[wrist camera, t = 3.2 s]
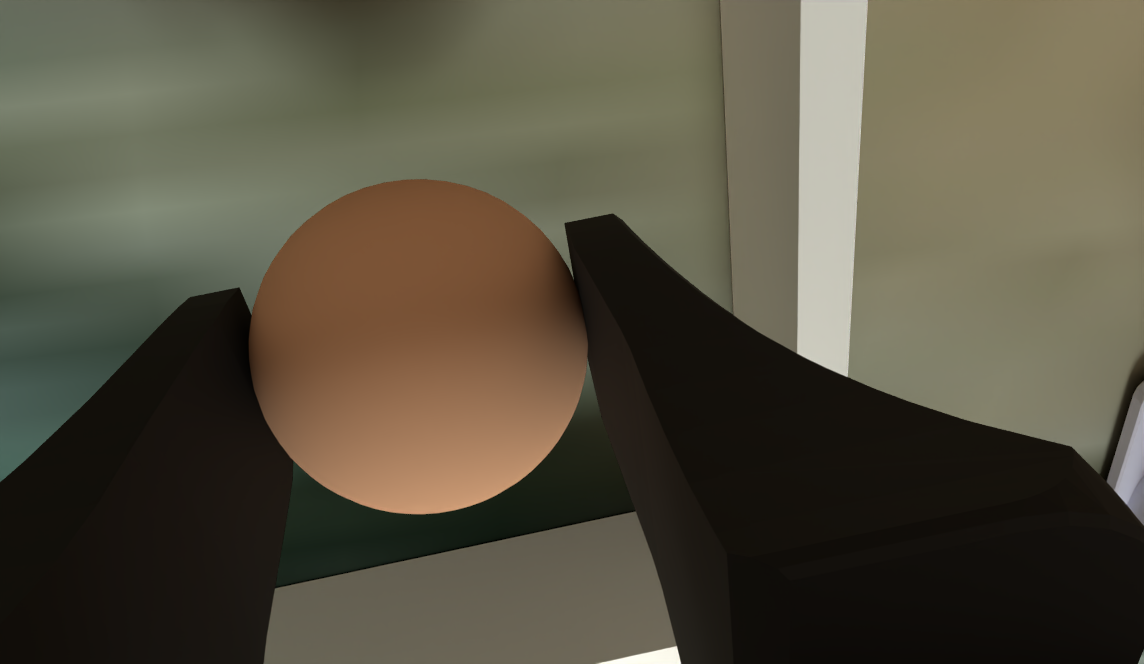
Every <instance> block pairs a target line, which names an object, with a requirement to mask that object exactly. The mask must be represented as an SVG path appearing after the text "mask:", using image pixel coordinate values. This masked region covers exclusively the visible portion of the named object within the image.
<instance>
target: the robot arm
mask: <svg viewBox="0 0 1144 664" xmlns="http://www.w3.org/2000/svg"><path fill="white" fill-rule="evenodd" d="M565 229H566V235H567V241H568V247H569V253H570V259H571V265H572V271H573V277H574V282H575V284H576V287H577V289H578V292H579V297H580V301H581V305H582V309H583V315H584V320H585V325H586V331H587V339H588V353H587V357H588V362H589V366H590V370H591V375H592V379H593V383H594V388H595V392H596V396H597V400H598V404H599V409H600V413H601V417H602V420H603V423H604V425H605V428H606V431H607V434H608V437H609V439H610V442H611V445H612V448H613V450H614V453H615V456H616V459H617V461H618V464H619V467H620V470H621V472H622V475H623V478H624V481H625V483H626V486H627V489H628V492H629V494H630V497H631V500H632V503H633V505H634V508H635V511H636V513H637V516H638V519H639V522H640V524H641V527H642V530H643V533H644V535H645V538H646V541H647V544H648V546H649V549H650V552H651V555H652V558H653V561H654V564H655V567H656V570H657V574H658V577H659V580H660V583H661V586H662V590H663V594H664V598H665V602H666V606H667V610H668V614H669V618H670V622H671V626H672V630H673V634H674V638H675V642H676V646H677V649H678V653H679V657H680V661H681V664H1138V662H1139V660H1140V657H1141V655H1142V652H1143V650H1144V381H1143V382H1142V383H1141V384H1140V385H1139V386H1138V387H1137V388H1136V390H1135V392H1134V394H1133V397H1132V400H1131V404H1130V407H1129V410H1128V413H1127V417H1126V420H1125V423H1124V426H1123V430H1122V433H1121V436H1120V440H1119V443H1118V446H1117V449H1116V453H1115V456H1114V459H1113V462H1112V466H1111V469H1110V472H1109V475H1108V479H1107V482H1106V481H1105V480H1104V479H1103V478H1102V477H1101V476H1100V475H1099V474H1098V473H1097V472H1096V471H1095V470H1094V469H1093V468H1092V467H1091V466H1090V465H1089V464H1088V463H1087V462H1086V461H1085V460H1084V459H1083V458H1082V457H1081V456H1080V455H1079V454H1078V453H1077V452H1076V451H1075V450H1074V449H1073V448H1072V447H1070V446H1066V445H1062V444H1058V443H1054V442H1050V441H1046V440H1042V439H1038V438H1034V437H1030V436H1026V435H1022V434H1018V433H1014V432H1010V431H1006V430H1002V429H998V428H994V427H990V426H986V425H982V424H978V423H974V422H971V421H967V420H964V419H960V418H957V417H954V416H951V415H948V414H945V413H942V412H939V411H936V410H933V409H930V408H927V407H924V406H921V405H918V404H914V403H911V402H908V401H906V400H903V399H900V398H898V397H895V396H892V395H890V394H887V393H884V392H882V391H879V390H876V389H874V388H871V387H869V386H867V385H864V384H862V383H860V382H857V381H855V380H853V379H851V378H848V377H846V376H844V375H841V374H839V373H837V372H834V371H832V370H830V369H827V368H825V367H823V366H821V365H819V364H817V363H815V362H813V361H811V360H809V359H807V358H805V357H803V356H801V355H799V354H797V353H795V352H794V351H792V350H790V349H788V348H786V347H784V346H783V345H781V344H779V343H777V342H775V341H774V340H772V339H770V338H768V337H766V336H765V335H763V334H761V333H759V332H758V331H756V330H755V329H753V328H752V327H750V326H749V325H747V324H745V323H744V322H743V321H741V320H740V319H738V318H737V317H735V316H734V315H732V314H731V313H730V312H728V311H727V310H725V309H724V308H722V307H721V306H720V305H718V304H717V303H716V302H714V301H713V300H712V299H710V298H709V297H708V296H706V295H705V294H704V293H702V292H701V291H700V290H699V289H697V288H696V287H695V286H694V285H692V284H691V283H690V282H689V281H688V280H686V279H685V278H684V277H683V276H681V275H680V274H679V273H678V272H676V271H675V270H674V269H673V268H672V267H671V266H669V265H668V264H667V263H666V262H665V261H664V260H663V259H662V258H660V257H659V256H658V255H657V254H656V253H655V252H654V251H653V250H652V249H651V248H650V247H648V246H647V245H646V244H645V243H644V242H643V241H642V240H641V239H640V238H639V237H638V236H637V235H636V234H635V233H634V232H633V231H632V230H631V229H630V228H629V227H628V226H627V225H626V223H625V222H624V221H623V220H622V219H620V218H619V217H617V216H616V215H614V214H608V215H603V216H598V217H593V218H588V219H583V220H577V221H572V222H567V223H565ZM251 317H252V315H251V313H250V311H249V309H248V306H247V304H246V302H245V299H244V297H243V295H242V292H241V290H240V288H234V289H229V290H224V291H219V292H214V293H209V294H204V295H199V296H194V297H190V298H189V299H187V300H186V301H185V302H184V303H183V304H182V305H180V306H179V307H178V308H177V309H176V310H175V311H174V312H173V313H172V314H171V315H170V316H169V317H168V318H167V319H166V320H165V321H164V322H163V323H162V324H161V325H160V326H159V327H158V328H157V329H156V330H155V331H154V332H153V333H152V334H151V335H150V337H149V338H148V339H147V340H146V341H145V342H144V343H143V344H142V345H141V346H140V347H139V348H138V349H137V350H136V351H135V352H134V353H133V354H132V356H131V357H130V358H129V359H128V360H127V361H126V362H125V363H124V364H123V365H122V366H121V367H120V368H119V369H118V370H117V371H116V372H115V373H114V374H113V375H112V376H111V377H110V378H109V379H108V380H107V382H106V383H105V384H104V385H103V386H102V387H101V388H100V389H99V390H98V391H97V392H96V393H95V394H94V395H93V396H92V397H91V398H90V399H89V400H88V401H87V402H86V403H85V404H84V405H83V406H82V407H81V408H80V409H79V410H78V411H77V412H76V413H75V414H74V415H73V416H71V417H70V418H69V419H68V420H67V421H66V422H65V423H64V424H63V425H62V426H61V427H60V428H59V429H58V430H57V431H56V432H55V433H54V434H53V435H52V436H51V437H49V438H48V439H47V440H46V441H45V442H44V443H43V444H42V445H41V446H40V447H39V448H38V449H37V450H36V451H35V452H34V453H33V454H32V455H31V456H30V457H28V458H27V459H26V460H25V461H24V462H23V463H22V464H21V465H20V466H18V467H17V468H16V469H15V470H14V471H13V472H12V473H10V474H9V475H8V476H7V477H6V478H5V479H3V480H2V481H1V482H0V664H264V656H265V648H266V640H267V633H268V627H269V621H270V615H271V609H272V603H273V597H274V591H275V585H276V579H277V573H278V567H279V562H280V556H281V550H282V544H283V538H284V532H285V526H286V519H287V513H288V507H289V501H290V494H291V487H292V480H293V459H292V458H291V457H290V456H289V455H288V454H287V452H286V451H285V450H284V448H283V447H282V446H281V445H280V443H279V442H278V440H277V439H276V437H275V436H274V434H273V432H272V431H271V429H270V427H269V425H268V424H267V422H266V420H265V418H264V415H263V413H262V410H261V407H260V405H259V402H258V399H257V397H256V394H255V391H254V387H253V382H252V377H251V371H250V363H249V332H250V324H251Z"/></svg>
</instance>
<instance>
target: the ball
mask: <svg viewBox="0 0 1144 664" xmlns="http://www.w3.org/2000/svg"><path fill="white" fill-rule="evenodd" d="M587 353H588V339H587V331H586V325H585V320H584V315H583V309H582V305H581V301H580V297H579V292H578V289H577V287H576V284H575V282H574V280H573V277H572V275H571V273H570V270H569V268H568V266H567V265H566V263H565V262H564V260H563V258H562V257H561V255H560V254H559V252H558V251H557V249H556V248H555V247H554V245H553V244H552V243H551V242H550V240H549V239H548V238H547V237H546V236H545V235H544V233H543V232H542V231H541V230H540V229H539V228H538V227H537V226H536V225H534V224H533V223H532V222H531V221H530V220H529V219H528V218H527V217H525V216H524V215H523V214H521V213H520V212H519V211H517V210H516V209H514V208H513V207H511V206H510V205H508V204H507V203H505V202H504V201H502V200H500V199H498V198H496V197H494V196H492V195H490V194H488V193H486V192H483V191H480V190H477V189H474V188H471V187H468V186H465V185H460V184H456V183H451V182H447V181H437V180H427V179H417V180H400V181H393V182H386V183H381V184H377V185H373V186H370V187H366V188H363V189H360V190H358V191H355V192H353V193H350V194H347V195H345V196H343V197H341V198H340V199H338V200H336V201H334V202H332V203H331V204H329V205H327V206H326V207H324V208H323V209H322V210H320V211H319V212H318V213H316V214H315V215H314V216H312V217H311V218H310V219H308V220H307V221H306V222H305V223H304V224H303V225H302V226H301V227H300V228H298V229H297V230H296V231H295V232H294V233H293V234H292V235H291V236H290V238H289V239H288V240H287V242H286V243H285V244H284V246H283V247H282V248H281V250H280V251H279V252H278V254H277V255H276V257H275V258H274V260H273V261H272V263H271V265H270V267H269V269H268V270H267V272H266V274H265V276H264V278H263V281H262V283H261V286H260V289H259V292H258V295H257V298H256V301H255V304H254V307H253V311H252V317H251V324H250V332H249V363H250V371H251V377H252V382H253V387H254V391H255V394H256V397H257V399H258V402H259V405H260V407H261V410H262V413H263V415H264V418H265V420H266V422H267V424H268V425H269V427H270V429H271V431H272V432H273V434H274V436H275V437H276V439H277V440H278V442H279V443H280V445H281V446H282V447H283V448H284V450H285V451H286V452H287V454H288V455H289V456H290V457H291V458H292V459H293V460H294V461H295V462H296V463H297V464H298V465H299V466H300V467H301V468H302V469H303V470H304V471H305V472H306V473H307V474H309V475H310V476H311V477H312V478H313V479H315V480H316V481H317V482H319V483H320V484H322V485H323V486H324V487H326V488H328V489H329V490H331V491H333V492H335V493H337V494H338V495H340V496H343V497H345V498H347V499H349V500H352V501H354V502H356V503H359V504H361V505H364V506H367V507H371V508H374V509H378V510H383V511H388V512H394V513H403V514H432V513H441V512H447V511H454V510H458V509H461V508H465V507H469V506H472V505H475V504H477V503H480V502H483V501H485V500H487V499H489V498H491V497H493V496H496V495H498V494H499V493H501V492H502V491H504V490H506V489H507V488H509V487H511V486H512V485H514V484H516V483H517V482H519V481H520V480H521V479H522V478H524V477H525V476H526V475H528V474H529V473H530V472H531V471H532V470H533V469H534V468H535V467H536V466H537V465H538V464H539V463H540V462H541V461H542V460H543V459H544V458H545V457H546V456H547V455H548V454H549V452H550V451H551V450H552V449H553V447H554V446H555V445H556V443H557V442H558V441H559V439H560V438H561V436H562V434H563V432H564V431H565V429H566V427H567V426H568V424H569V422H570V420H571V418H572V416H573V414H574V411H575V409H576V407H577V404H578V402H579V398H580V395H581V391H582V387H583V383H584V379H585V375H586V367H587Z"/></svg>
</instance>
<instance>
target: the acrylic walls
mask: <svg viewBox="0 0 1144 664" xmlns="http://www.w3.org/2000/svg"><path fill="white" fill-rule="evenodd" d="M867 5H868V0H720V12H721V35H722V58H723V82H724V105H725V128H726V152H727V175H728V198H729V222H730V245H731V269H732V292H733V315H734V316H735V317H737V318H738V319H740V320H741V321H743V322H744V323H745V324H747V325H749V326H750V327H752V328H753V329H755V330H756V331H758V332H759V333H761V334H763V335H765V336H766V337H768V338H770V339H772V340H774V341H775V342H777V343H779V344H781V345H783V346H784V347H786V348H788V349H790V350H792V351H794V352H795V353H797V354H799V355H801V356H803V357H805V358H807V359H809V360H811V361H813V362H815V363H817V364H819V365H821V366H823V367H825V368H827V369H830V370H832V371H834V372H837V373H839V374H841V375H844V376H846V377H848V359H849V341H850V322H851V303H852V285H853V266H854V248H855V229H856V210H857V192H858V173H859V154H860V136H861V117H862V98H863V80H864V61H865V42H866V24H867ZM264 664H681V661H680V657H679V653H678V649H677V646H676V642H675V638H674V634H673V630H672V626H671V622H670V618H669V614H668V610H667V606H666V602H665V598H664V594H663V590H662V586H661V583H660V580H659V577H658V574H657V570H656V567H655V564H654V561H653V558H652V555H651V552H650V549H649V546H648V544H647V541H646V538H645V535H644V533H643V530H642V527H641V524H640V522H639V519H638V516H637V513H636V511H635V512H631V513H626V514H621V515H617V516H612V517H607V518H602V519H598V520H593V521H588V522H584V523H579V524H574V525H570V526H565V527H560V528H556V529H551V530H546V531H542V532H537V533H532V534H528V535H523V536H518V537H514V538H509V539H504V540H500V541H495V542H490V543H486V544H481V545H476V546H471V547H467V548H462V549H457V550H453V551H448V552H443V553H439V554H434V555H429V556H425V557H420V558H415V559H411V560H406V561H401V562H397V563H392V564H387V565H383V566H378V567H373V568H369V569H364V570H359V571H355V572H350V573H345V574H340V575H336V576H331V577H326V578H322V579H317V580H312V581H308V582H303V583H298V584H294V585H289V586H284V587H280V588H275V591H274V597H273V603H272V609H271V615H270V621H269V627H268V633H267V640H266V648H265V656H264Z"/></svg>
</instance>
